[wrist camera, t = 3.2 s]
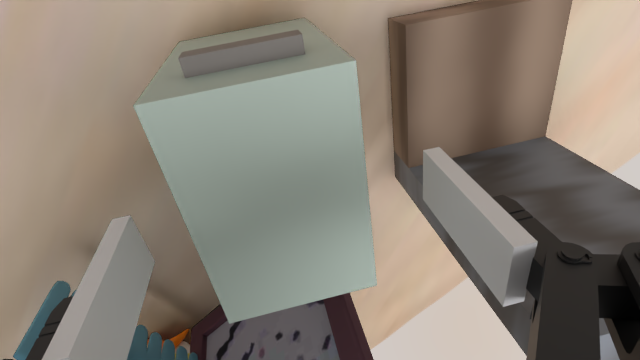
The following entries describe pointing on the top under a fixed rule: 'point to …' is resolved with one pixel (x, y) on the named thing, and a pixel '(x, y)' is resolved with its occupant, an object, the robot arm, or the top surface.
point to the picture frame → (285, 334)
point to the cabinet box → (266, 163)
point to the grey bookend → (501, 129)
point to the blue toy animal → (159, 356)
